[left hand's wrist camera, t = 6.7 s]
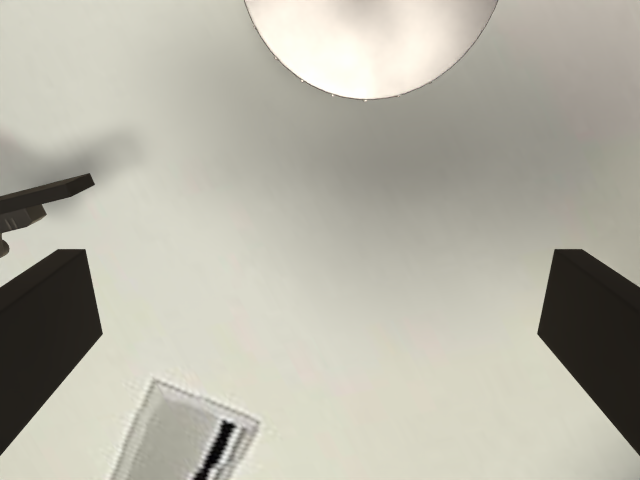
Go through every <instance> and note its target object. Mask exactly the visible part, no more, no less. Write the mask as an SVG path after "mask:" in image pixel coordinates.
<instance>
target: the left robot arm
mask: <svg viewBox="0 0 640 480" xmlns="http://www.w3.org/2000/svg"><path fill="white" fill-rule="evenodd" d="M102 334H103V333H102V328H101V323H100V318H99V313H98V309H97V304H96V299H95V294H94V289H93V284H92V279H91V274H90V270H89V265H88V260H87V255H86V250H85V249H58V250H56V251H55V252H53V253H52V254H50V255H49V256H47V257H46V258H44V259H43V260H41V261H40V262H38V263H36V264H35V265H33V266H32V267H30V268H29V269H27V270H26V271H24V272H23V273H21V274H20V275H18V276H17V277H15V278H14V279H12V280H11V281H9V282H8V283H6V284H5V285H3V286H2V287H0V456H1V454H2V453H3V452H4V451H5V450H6V448H7V447H8V446H9V445H10V444H11V442H12V441H13V440H14V439H15V438H16V437H17V435H18V434H19V433H20V432H21V431H22V429H23V428H24V427H25V426H26V425H27V423H28V422H29V421H30V420H31V419H32V417H33V416H34V415H35V414H36V413H37V412H38V410H39V409H40V408H41V407H42V406H43V404H44V403H45V402H46V401H47V400H48V398H49V397H50V396H51V395H52V394H53V393H54V391H55V390H56V389H57V388H58V387H59V385H60V384H61V383H62V382H63V381H64V379H65V378H66V377H67V376H68V375H69V373H70V372H71V371H72V370H73V369H74V368H75V366H76V365H77V364H78V363H79V362H80V360H81V359H82V358H83V357H84V356H85V354H86V353H87V352H88V351H89V350H90V349H91V347H92V346H93V345H94V344H95V343H96V341H97V340H98V339H99V338H100V337H101V335H102ZM537 334H538V335H539V337H540V338H541V339H542V340H543V341H544V343H545V344H546V345H547V346H548V347H549V349H550V350H551V351H552V352H553V353H554V354H555V356H556V357H557V358H558V359H559V360H560V362H561V363H562V364H563V365H564V366H565V368H566V369H567V370H568V371H569V372H570V373H571V375H572V376H573V377H574V378H575V379H576V381H577V382H578V383H579V384H580V385H581V387H582V388H583V389H584V390H585V391H586V393H587V394H588V395H589V396H590V397H591V398H592V400H593V401H594V402H595V403H596V404H597V406H598V407H599V408H600V409H601V410H602V412H603V413H604V414H605V415H606V416H607V417H608V419H609V420H610V421H611V422H612V423H613V425H614V426H615V427H616V428H617V429H618V431H619V432H620V433H621V434H622V435H623V437H624V438H625V439H626V440H627V441H628V442H629V444H630V445H631V446H632V447H633V448H634V450H635V451H636V452H637V453H638V454H639V456H640V287H638V286H637V285H635V284H634V283H632V282H631V281H629V280H628V279H626V278H625V277H623V276H622V275H620V274H619V273H617V272H616V271H614V270H613V269H611V268H610V267H608V266H607V265H605V264H604V263H602V262H600V261H599V260H597V259H596V258H594V257H593V256H591V255H590V254H588V253H587V252H585V251H584V250H582V249H555V250H554V255H553V260H552V265H551V270H550V274H549V279H548V284H547V289H546V294H545V299H544V304H543V308H542V313H541V318H540V323H539V328H538V333H537Z"/></svg>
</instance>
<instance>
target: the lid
mask: <svg viewBox="0 0 640 480" xmlns="http://www.w3.org/2000/svg"><path fill="white" fill-rule="evenodd" d="M244 2H245V5H246V8H247V10H248V12H249V15H250V17H251V20H252V22H253V24H254V26H253V27H254V28H255V29H256V30H257V31H258V33H259V35H260V37H261V38H262V40H263V41H264V43H265V44H266V45H267V47H268V48H269V50H270V51H271V52H272V54H273V55H274V56H275V57H274V58H275V59H276V60H278V61H280V62H281V63H282V64H283V65H284V66H285V67H286V68H287V69H288V70H290V71H291V72H292V73H293V74H294V75H296V76H297V77H298V78H300V79H301V82H304V81H305V82H306V83H308V84H309V85H311V86H313V87H315V88H317V89H320V90H322V91H324V92H326V93H330V94H331V96H333V97H334V95H336V96H340V97H345V98H351V99H358V100H363V101H367V100H376V99H384V98H391V97H400V95H402V94H406V93H408V92H411V91H413V90H416V89H418V88H421V87H423V86H424V85H426V84H428V83H432V81H433V80H435V79H437V78H438V77H439V76H441V75H442V74H443V73H445V72H446V71H448V70H449V69H450V68H451V67H452V66H453V65H455V64H456V63H457V62H458V61H459V60H460V59H461V58H462V57H463V56H464V55H465V54H466V52H467V51H468V50H469V49H470V48H471V47H472V45H473V44H474V43H475V42H476V40H477V39H478V37H479V36H480V34H481V33H482V31H483V30H484V28H485V27H486V25H487V23H488V21H489V19H490V17H491V15H492V13H493V11H494V9H495V7H496V5H497V2H498V0H244Z"/></svg>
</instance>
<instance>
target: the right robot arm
mask: <svg viewBox="0 0 640 480" xmlns="http://www.w3.org/2000/svg"><path fill="white" fill-rule="evenodd" d="M93 185H95V184H94V182H93V179H92V177H91V175H90V173H89V174H85V175H81V176H77V177H73V178H69V179H66V180H62V181H58V182H54V183H50V184H46V185H42V186H38V187H35V188H31V189H27V190H23V191H19V192H15V193H11V194H8V195H4V196H0V258H1V257H3V256H5V255H6V254H8V252H9V245H8V244H7V243H6V242H5V241H4V240H2V233H4V232H8V231H12V230H16V229H20V228H24V227H27V226H29V225H31V224H33V223H35V222H37V221H39V220H41V219H42V218H43V217H44V216H46V215H47V214H46V212H45V210H44V208H43V206H42V204H44V203H48V202H52V201H56V200H60V199H64V198H68V197H71V196H73V195H75V194H77V193H79V192H81V191H83V190H85V189H87V188H89V187H91V186H93Z"/></svg>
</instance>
